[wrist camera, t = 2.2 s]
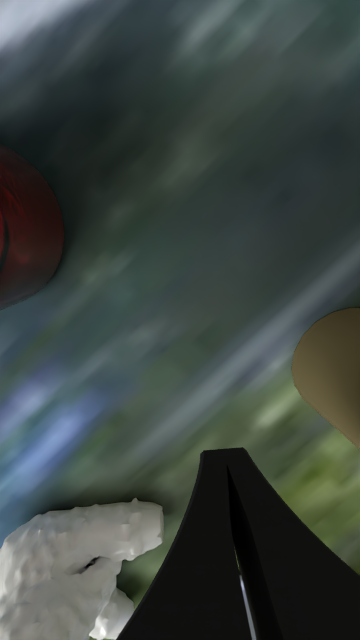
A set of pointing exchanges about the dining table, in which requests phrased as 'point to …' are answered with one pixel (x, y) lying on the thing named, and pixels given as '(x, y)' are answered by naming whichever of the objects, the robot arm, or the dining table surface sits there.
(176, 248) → the dining table surface
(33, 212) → the soda can
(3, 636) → the sitting furry creature
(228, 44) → the dining table surface
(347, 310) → the pepper shaker
